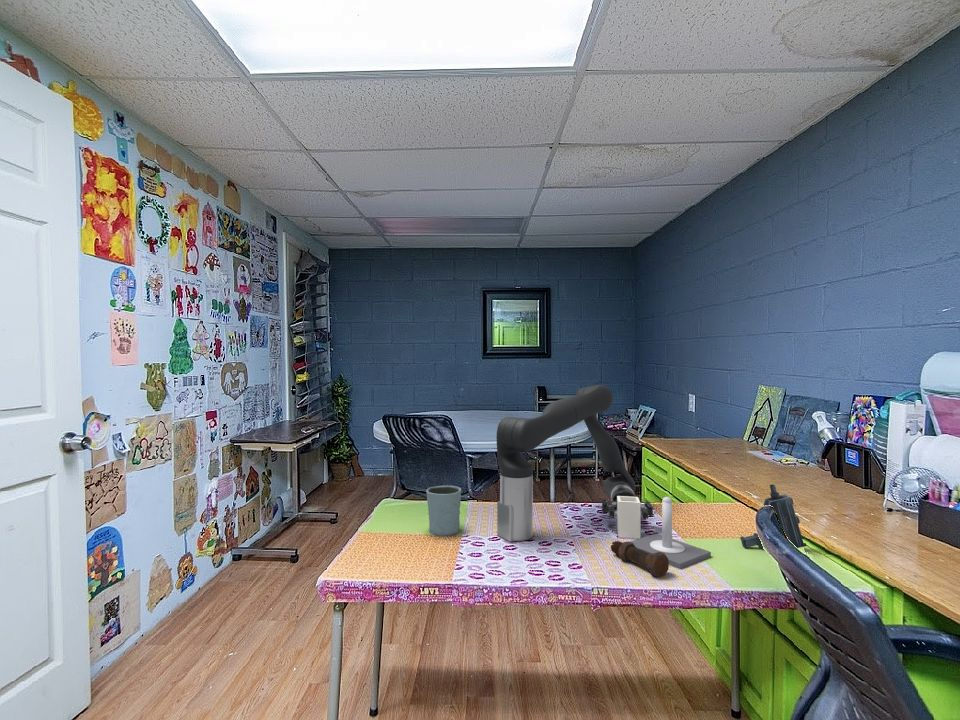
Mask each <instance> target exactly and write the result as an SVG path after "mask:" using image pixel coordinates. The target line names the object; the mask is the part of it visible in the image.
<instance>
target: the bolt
mask: <svg viewBox="0 0 960 720" xmlns="http://www.w3.org/2000/svg"><path fill="white" fill-rule="evenodd" d="M610 551H611V552H612V553H614V554H615V555H618V556H619V558H620V560H621V561H623V562H625V563H630V562H634V563H635V564H638V565H640V566H643V567H645V568H647V569H648V571H649V572H650V575H651V576H652V577H654V578H661V577H662V578H663V577H664V576H665V575H666V574H667V573H668V571H669V567H670V565H669V560H668V558H667V556H666V555H665V554H664V553H663V552H657V553H653V554H650V553H647V552H645V551H642V550H640V549H637V548H636V547H635V545H634V544H633V543H632V542H630V541H623V542H622V541H620V540H615V541H613V542H612V543H611V545H610Z"/></svg>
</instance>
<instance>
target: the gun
mask: <svg viewBox="0 0 960 720" xmlns="http://www.w3.org/2000/svg"><path fill="white" fill-rule="evenodd" d="M769 489H770V493H769V495H770V497H767V498H764V501H763V506H765V505H771V506H773V507H774V509H775V511H776V513H777V516H778V520H779V522H780V524H781V526H782V528H783V530H784V532H785V534H786V536H787V537H788V539H789V540H790V541H791V542H792V543H793V544H794V545H795V546H796V547H797V548H796V549H799V548H804V547H805V548H806V547H807V546H808V545H807V543H806V542H804V540H803V535H802V533H801V529H800V525H799V524H800V523H801V520H800V518H799V517H798V516H797V515H796V512H795V508H794V501H793V498H792V497H791V496H789V495H787V494H786V493H785V494H780V492H778V491H777V488H776V485H775V484H773V483H772V484H770V485H769ZM757 533H758V532H754V533H753V535H749V536H748V535H747V536H743V535H742V536H740V537H739V538H740V542H741V545H742V547H743V548H744V549H748V548H751V547H756V546H757V547H759V548H760V549H763V548H764V547H763V546H762V544H761V541H760V539H759V537H758V534H757Z"/></svg>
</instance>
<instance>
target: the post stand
mask: <svg viewBox="0 0 960 720" xmlns="http://www.w3.org/2000/svg"><path fill="white" fill-rule="evenodd" d="M661 508H662V509H661V511H662V512H661V519H662V520H661V531H662V532H661V534H660V533H657V532H656V533H653V534H650V535H647V536H644V537H640V539H634V540H631V541H630V542H632V543H633V544H634V545H635V547H636V548H637V549H640V550H642V551H645V552H647V553H650V554H653V553H657V552H663V553H664V554H665V555H666V556H667V558H668V560H669V566H671V567H674V568H676V569H680V570H681V569H683V568H686V567H688V566H690V565H693V564H696V563H698V562H700V561H701V562H702V561H703V560H705V559H709V558H711V557H712V552H711V551H709V550H707V549H703V548H701V547H699V546H695V545H692V544H689V543H687V542H683V541H680V540H677V539H675V538H673V500H672V498H671V497H670V496H663V498H662V502H661Z"/></svg>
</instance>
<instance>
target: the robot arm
mask: <svg viewBox="0 0 960 720" xmlns="http://www.w3.org/2000/svg"><path fill="white" fill-rule="evenodd" d="M613 397H614V396H613V393H612V391H611V389H610V388H609V387H608V386H606V385H602V384H596V385H590V386H585V387H581V388H579V389H578V390H577V391H576V394H575V395H572V396H568V397H564V398H560V399H557V400H555V401H553V402H551V403H549V404H548V405H546V406H545V407H544V409H543V411H542V414H541V415H538V416H537V417H532V418H523V417H517V416H505V417H504V418H502V419H500V421H499V422H498V425H497V428H496V454H497V455H496V456H497V458H496V459H497V464H498V468H499V475H500V477H499V482H500V484H499V487H500V488H499V499H500V500H498V501H497V504H496V505H497V506H496V509H497V510H496V518H497V519H496V523H497V524H496V525H497V526H496V527H497V528H496V534H497V536H499V537H500V538H502V539H504V540H506V541H508V542H515V541H516V542H521V541H528V540H530V539H532V538H533V536H534V534H533V533H534V527H533V526H534V517H533V516H534V512H533V511H534V507H533V506H534V505H533V503H534V500H533V499H534V498H533V497H534V495H533V494H534V472H533V471H534V467H533V465H532V463H530V462H529V461H528V460H526V459H525V457H523V455H522V454H521V452H526V453H527V452H531V451H532V450H535V449H536V448H537V447H539V446H540V445H541V444H543V443H544V442H546V441H547V440H548V439H550V438H552V437H554V436H556V435H558V434H559V433H562V432H564V431H566V430H568V429H570V428H572V427H573V426H575V425H577V424H579V423H581V422H584V423H585V426H586V427H587V430H588V432H589V435H591V438H592V440H593V442H594V444H595V448H596V450H597V453H598V456H599V460H600V463H601V466H602V469H603V470H604V471H605V472H606V473H617V474H618V475H614V476H610V477H607V478H605V480H604V481H603V482H602V483H603V485H602V487H603V491H604V493H605V494H606V496H607V497H608V498H609V500H610V502H609V501H608V500H607V499H605V498H604V499H601V513H602V514H608V515H609V517H611V518H613V519H614V518H615V515H617V496H628V497H637V496H636V495H635V491H636V487H637V486H636V483H635V480H634V479H633V477H632V475H631V474H630V472H629V471H628V469H627V468H626V466H625V464H624V461H623V459H622V455H621V452H620V449H619V446H618V443H617V442H616V440H615V439H614V438H613V436H612V435H611V434H610V433H609V432H608V431H607V430H606V429H605V428H604V426H603V425H602V424H601V422H600V421H599V418H598V417H597V415H596V414H600V413H604V412H607V411H608V410H609V409H610V408H611V406H612V404H613V402H614V401H613V400H614V398H613ZM653 510H654V507H653V505H652V504H651V502H649V501H645V502H644V503H643V504H642V503H641V502H640V516H641V517H642V520H647V519H649V517H653V516H654V511H653Z"/></svg>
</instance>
